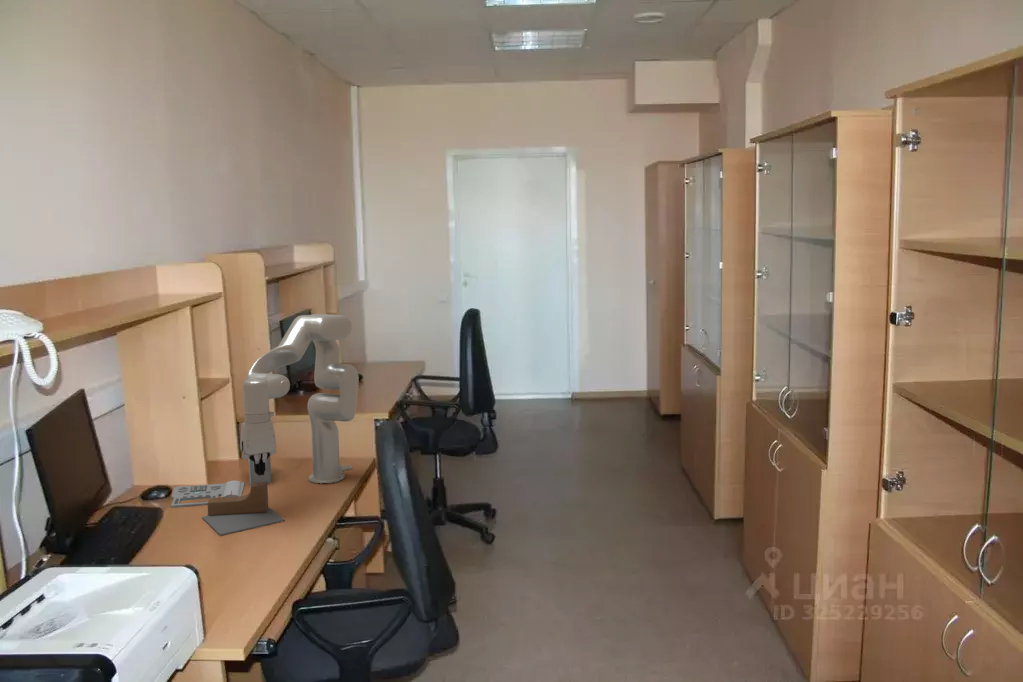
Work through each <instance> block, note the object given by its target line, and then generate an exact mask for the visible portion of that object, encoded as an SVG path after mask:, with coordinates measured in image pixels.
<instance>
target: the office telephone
mask: <svg viewBox="0 0 1023 682" xmlns="http://www.w3.org/2000/svg"><path fill="white" fill-rule="evenodd" d="M244 487H245V481H240V480H230V481H227V482H226V483H225V482H224V483H212V484H210V483H209V484H196V485H181V486H178V485H177V486H174V487H173V490H172V494H171V500H172V502H171V504H170V508H171V509H177V508H187V507H199V506H202V507H203V506H208V504H207V503H208V501H200V502H198V501H197V502H188V503H181V501H190V500H202V499H203V500H204V499H210V498H218V497H238V496H241V495H242V494H243V493H242V492H243V491H244ZM242 496H243V495H242Z"/></svg>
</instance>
